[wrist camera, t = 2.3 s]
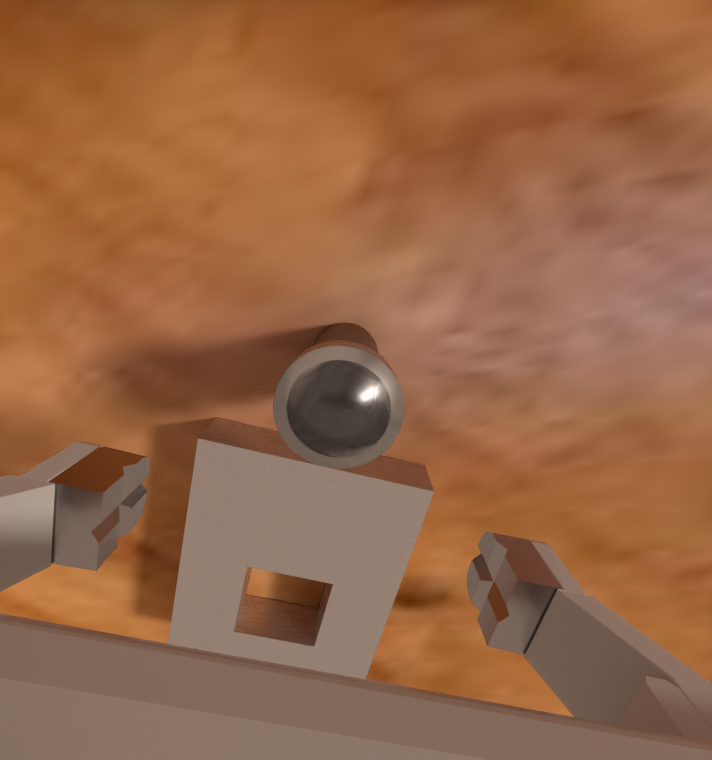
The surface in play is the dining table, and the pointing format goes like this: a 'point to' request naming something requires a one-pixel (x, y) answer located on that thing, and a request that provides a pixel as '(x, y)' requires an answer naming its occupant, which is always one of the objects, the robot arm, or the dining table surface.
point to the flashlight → (339, 400)
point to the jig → (293, 550)
